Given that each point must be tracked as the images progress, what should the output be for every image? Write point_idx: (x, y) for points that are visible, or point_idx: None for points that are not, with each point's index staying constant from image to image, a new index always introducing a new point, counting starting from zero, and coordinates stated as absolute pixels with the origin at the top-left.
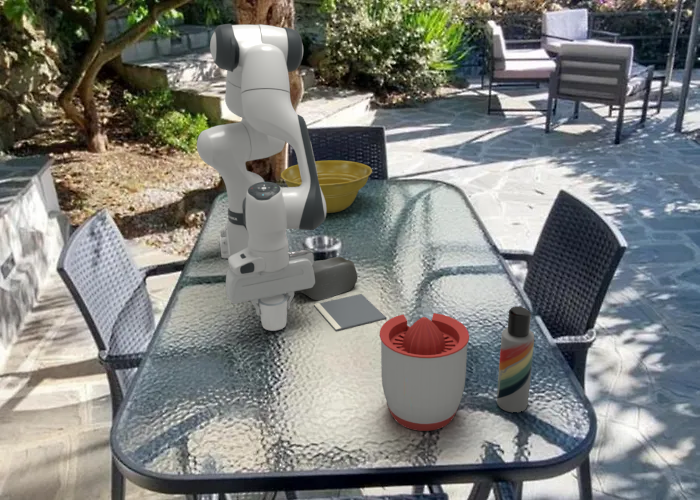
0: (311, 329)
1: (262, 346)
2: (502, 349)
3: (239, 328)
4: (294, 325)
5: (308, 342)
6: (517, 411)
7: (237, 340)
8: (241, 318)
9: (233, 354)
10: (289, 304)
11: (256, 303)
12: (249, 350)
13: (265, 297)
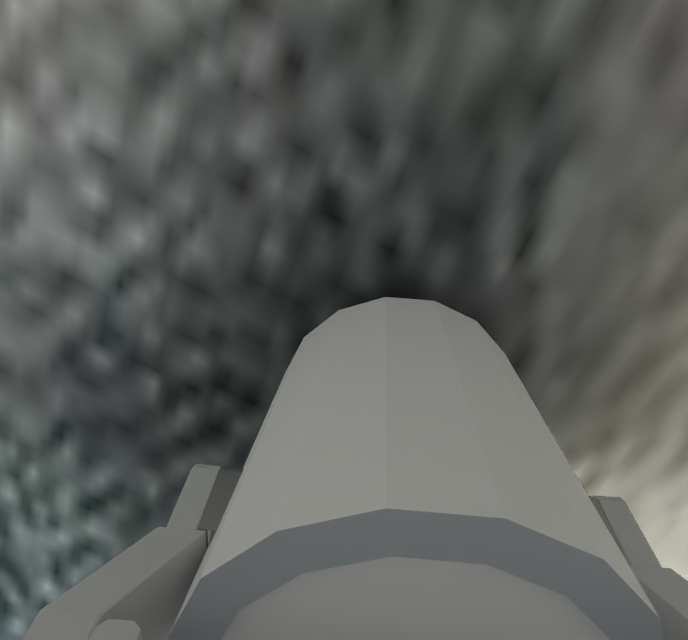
0: (637, 522)
1: None
2: None
3: (99, 220)
4: (563, 414)
5: None
6: None
7: (56, 398)
8: (154, 9)
9: (11, 537)
10: None
11: (171, 572)
12: (122, 545)
13: (320, 627)
